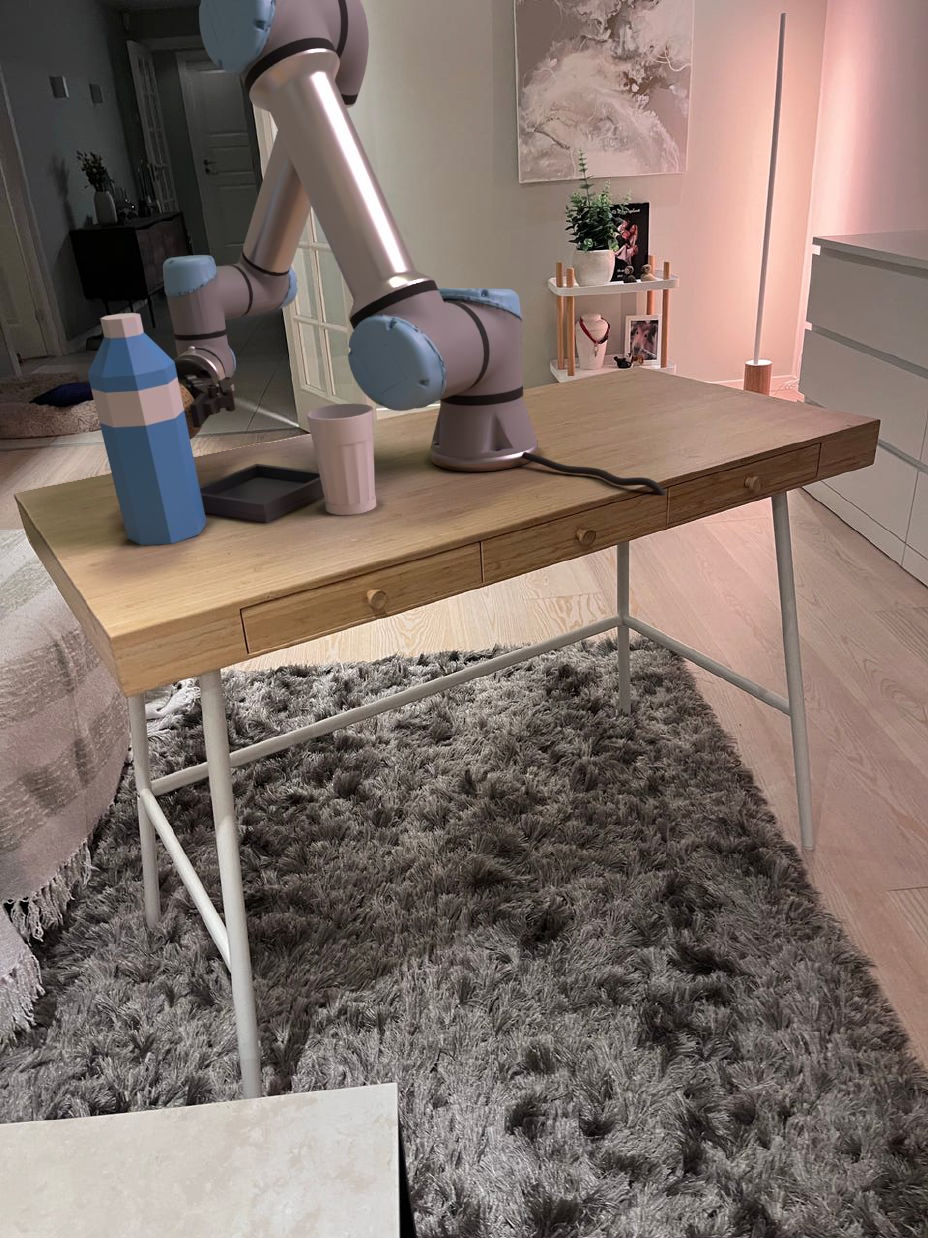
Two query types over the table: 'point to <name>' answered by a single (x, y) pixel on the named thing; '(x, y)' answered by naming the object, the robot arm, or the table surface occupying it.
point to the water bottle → (145, 434)
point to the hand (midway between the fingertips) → (153, 419)
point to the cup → (345, 456)
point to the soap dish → (261, 492)
